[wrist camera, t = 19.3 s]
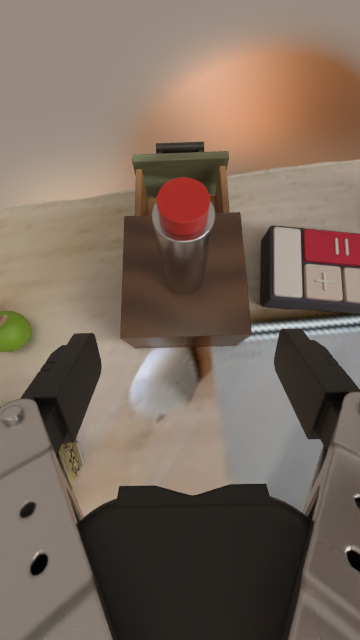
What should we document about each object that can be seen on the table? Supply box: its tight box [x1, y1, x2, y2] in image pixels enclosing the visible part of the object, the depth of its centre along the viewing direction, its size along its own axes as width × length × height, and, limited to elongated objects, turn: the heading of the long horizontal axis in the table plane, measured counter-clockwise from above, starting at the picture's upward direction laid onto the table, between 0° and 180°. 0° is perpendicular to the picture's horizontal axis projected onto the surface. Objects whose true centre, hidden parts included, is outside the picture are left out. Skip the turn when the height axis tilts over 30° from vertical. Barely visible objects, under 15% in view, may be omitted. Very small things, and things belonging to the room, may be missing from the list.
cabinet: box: [120, 212, 252, 348], centre depth 33 cm, size 15×14×8 cm
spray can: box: [152, 177, 215, 295], centre depth 23 cm, size 5×5×12 cm
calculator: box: [261, 226, 360, 314], centre depth 35 cm, size 11×4×15 cm
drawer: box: [132, 142, 230, 216], centre depth 36 cm, size 18×13×7 cm
